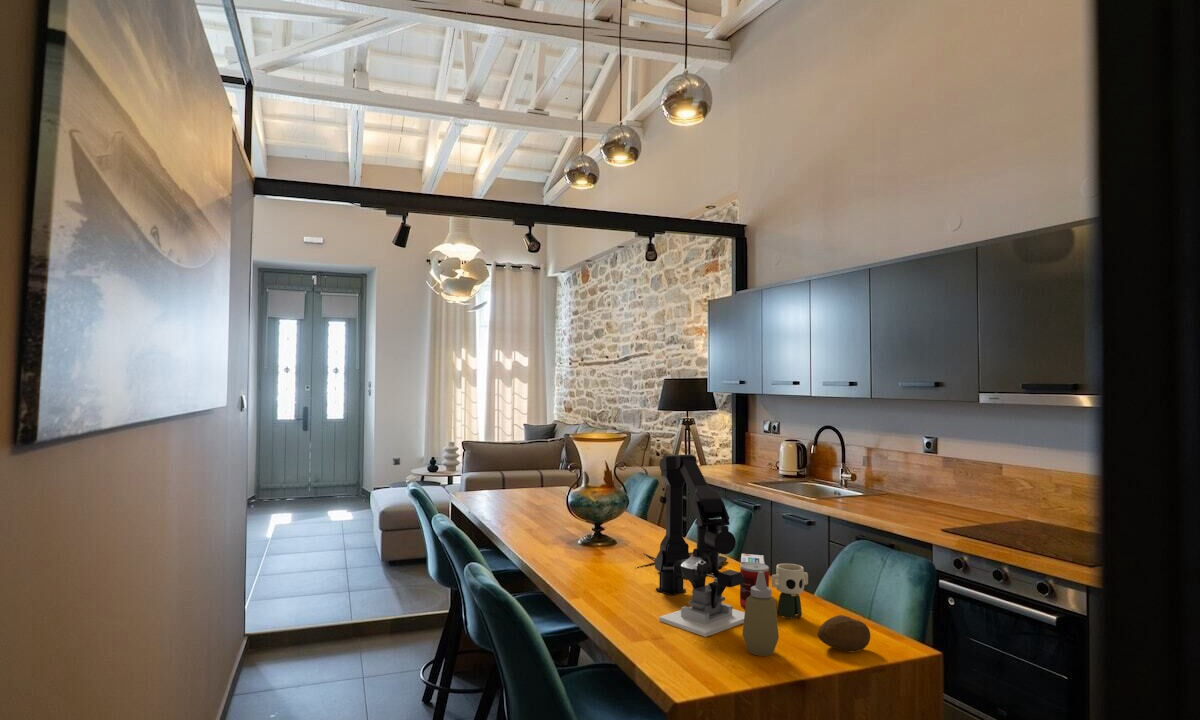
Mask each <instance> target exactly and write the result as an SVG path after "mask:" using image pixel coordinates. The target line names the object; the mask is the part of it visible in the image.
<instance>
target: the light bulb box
mask: <svg viewBox="0 0 1200 720" xmlns="http://www.w3.org/2000/svg"><path fill="white" fill-rule="evenodd" d="M744 563H761V564H765V565H766V563H765V556H764V555H762V554H761V555H760V554H749V553H741V557H740V565H741V564H744Z"/></svg>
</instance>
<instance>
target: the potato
mask: <svg viewBox="0 0 1200 720" xmlns="http://www.w3.org/2000/svg"><path fill="white" fill-rule="evenodd" d="M816 634H817V638H818V639H819V640H820V641H821V642H822V643H823V644H825V645H826V646H829V647H830V648H834V649H838V650H841V651H844V652H848V651H855V652H859V651H861V650H864V649H865V648H867V646H868V645H869V643H870V640H871V632H870V628H869V627H868V626H867V625H866V623H864V622H863V621H861V620H859V619H854V618H852V617H849V616H847V615H842V614H840V615H836V616H833V617H830V618H828V619H827V620H825V621H824V622H823V624H821V625H820V626H819V629H818V631H817V633H816Z"/></svg>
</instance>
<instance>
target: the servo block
mask: <svg viewBox="0 0 1200 720" xmlns="http://www.w3.org/2000/svg"><path fill="white" fill-rule="evenodd" d="M712 582H713V581H712ZM712 582H708V583H707V584H705V586H702V587H699V588H695V589H693V588H692V594H691V595H692V597H691V598H692V599H691V600H689V601H688V605H689V606H692V608H693V609H696V610H699V611H702V612H705V613H708V614H709V615H712V614H715V613H718V612H721V606H722V603H723V602H724V601H726V597H725V596H722V595H723V594H722V595H721V597H720V599H719V601H718V603H717V606H716V608H714V609H713V608H712V604H711V587H710V585H709V583H712Z"/></svg>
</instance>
